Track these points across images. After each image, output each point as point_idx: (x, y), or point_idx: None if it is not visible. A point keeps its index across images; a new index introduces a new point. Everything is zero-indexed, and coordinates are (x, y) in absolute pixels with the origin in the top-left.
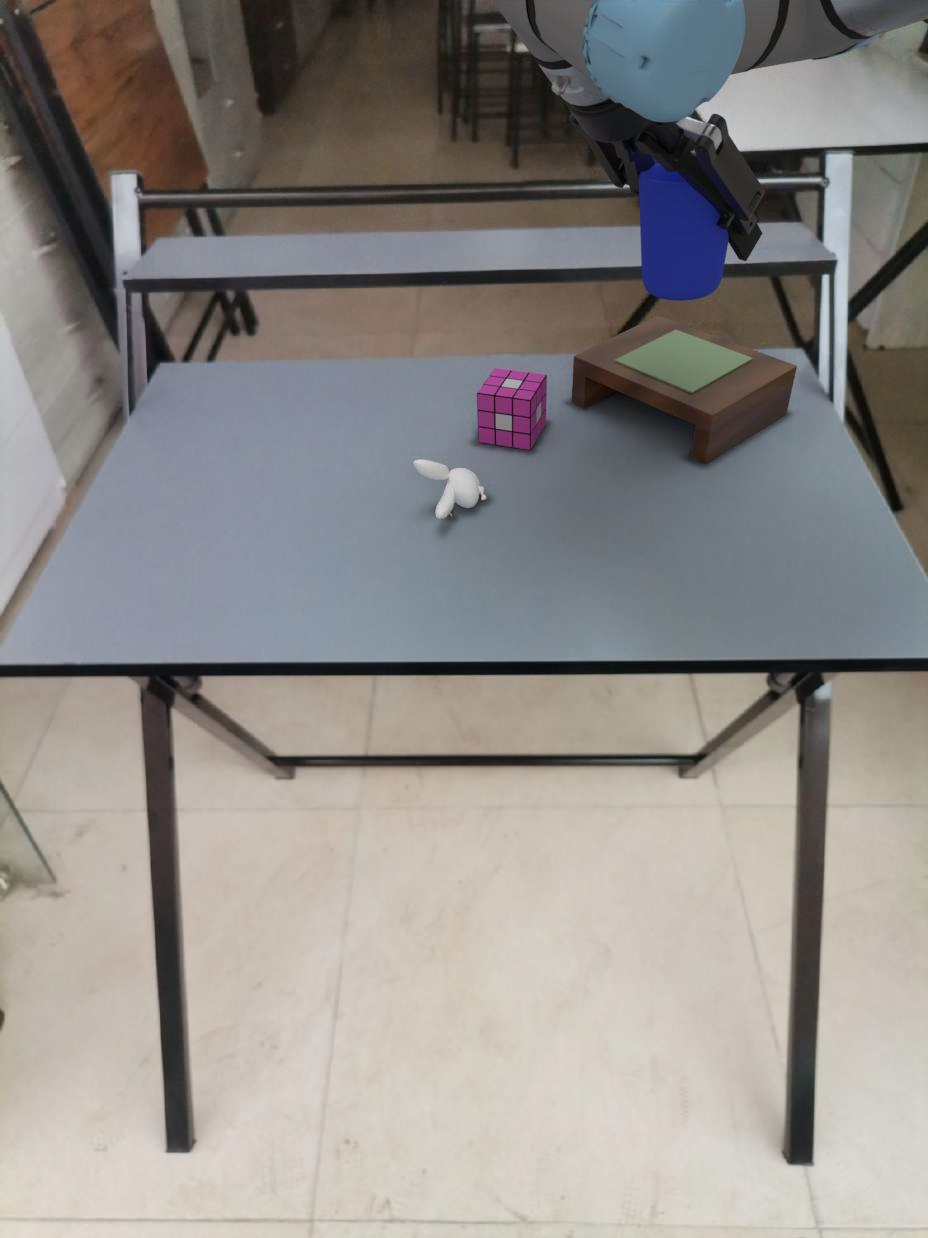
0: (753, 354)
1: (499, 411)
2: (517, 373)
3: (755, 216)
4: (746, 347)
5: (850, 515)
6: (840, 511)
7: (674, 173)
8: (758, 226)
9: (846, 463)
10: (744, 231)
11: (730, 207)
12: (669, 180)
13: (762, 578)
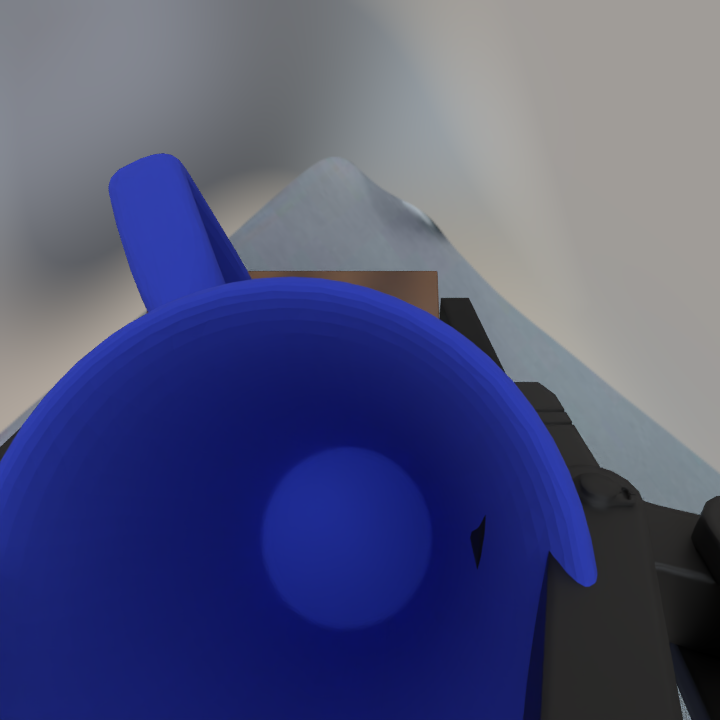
0: (362, 284)
1: None
2: None
3: (560, 404)
4: (339, 272)
5: (651, 468)
6: (636, 469)
7: (106, 434)
8: (475, 315)
9: (564, 360)
10: None
11: (690, 715)
12: (110, 464)
13: (682, 698)
